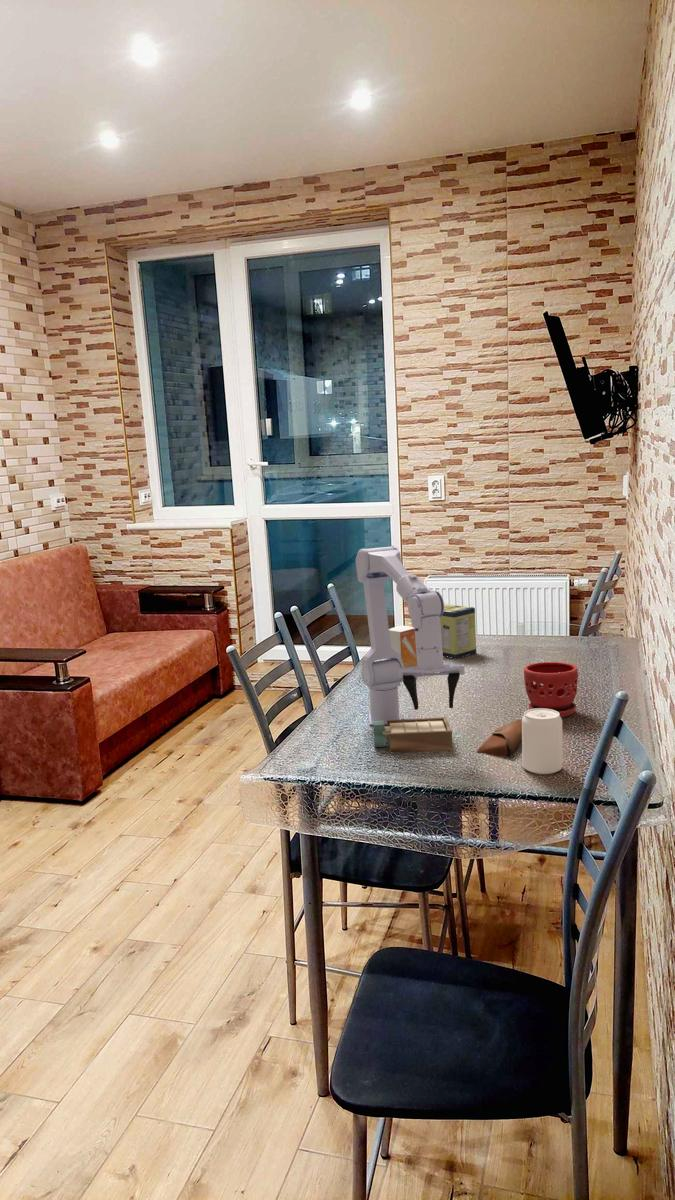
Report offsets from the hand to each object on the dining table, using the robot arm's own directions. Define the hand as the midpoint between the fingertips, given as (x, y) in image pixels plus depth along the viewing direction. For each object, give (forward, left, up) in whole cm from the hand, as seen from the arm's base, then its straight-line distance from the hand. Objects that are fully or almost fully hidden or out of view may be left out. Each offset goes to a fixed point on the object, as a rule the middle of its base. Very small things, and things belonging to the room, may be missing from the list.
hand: (433, 707), depth 177 cm
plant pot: (-24, +32, -11) cm, 42 cm away
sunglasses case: (-5, +17, -11) cm, 21 cm away
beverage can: (+12, +21, -11) cm, 26 cm away
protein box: (-91, +15, -11) cm, 93 cm away
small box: (-73, -2, -11) cm, 74 cm away
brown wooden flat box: (-6, -3, -11) cm, 13 cm away
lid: (-6, -5, -10) cm, 13 cm away
